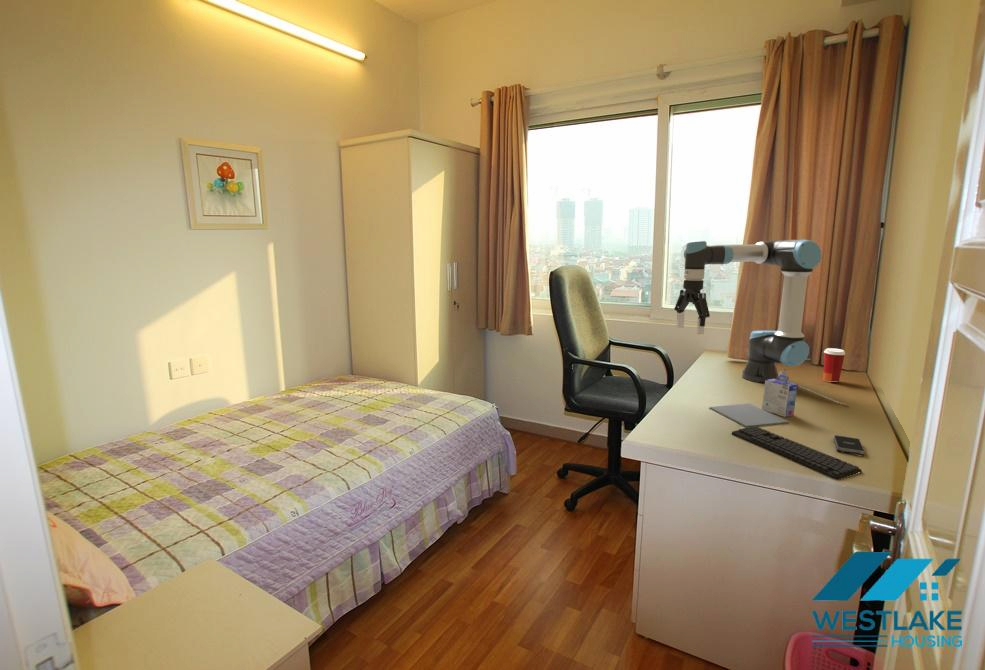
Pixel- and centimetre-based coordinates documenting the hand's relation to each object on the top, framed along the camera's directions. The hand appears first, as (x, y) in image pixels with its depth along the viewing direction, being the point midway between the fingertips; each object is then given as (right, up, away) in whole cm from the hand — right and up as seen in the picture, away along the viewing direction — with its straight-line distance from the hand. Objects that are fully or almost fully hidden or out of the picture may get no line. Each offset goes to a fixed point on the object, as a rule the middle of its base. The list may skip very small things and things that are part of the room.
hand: (689, 330), depth 203 cm
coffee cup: (+75, -23, +24) cm, 82 cm away
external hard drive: (+32, -38, -46) cm, 68 cm away
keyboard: (+12, -39, -49) cm, 64 cm away
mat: (+15, -32, -18) cm, 40 cm away
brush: (+51, -28, +3) cm, 59 cm away
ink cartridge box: (+28, -32, -15) cm, 45 cm away
